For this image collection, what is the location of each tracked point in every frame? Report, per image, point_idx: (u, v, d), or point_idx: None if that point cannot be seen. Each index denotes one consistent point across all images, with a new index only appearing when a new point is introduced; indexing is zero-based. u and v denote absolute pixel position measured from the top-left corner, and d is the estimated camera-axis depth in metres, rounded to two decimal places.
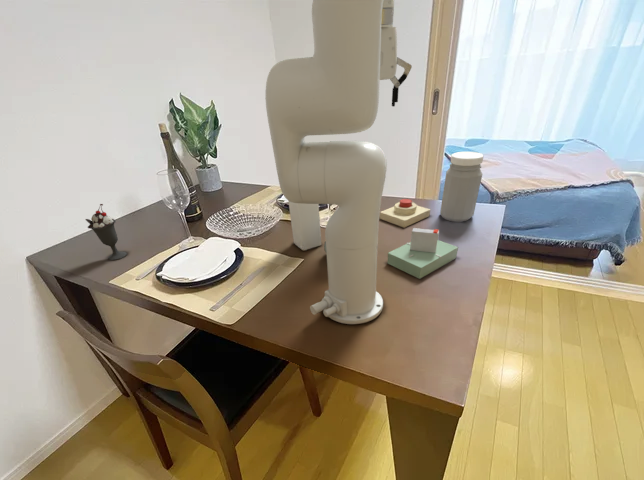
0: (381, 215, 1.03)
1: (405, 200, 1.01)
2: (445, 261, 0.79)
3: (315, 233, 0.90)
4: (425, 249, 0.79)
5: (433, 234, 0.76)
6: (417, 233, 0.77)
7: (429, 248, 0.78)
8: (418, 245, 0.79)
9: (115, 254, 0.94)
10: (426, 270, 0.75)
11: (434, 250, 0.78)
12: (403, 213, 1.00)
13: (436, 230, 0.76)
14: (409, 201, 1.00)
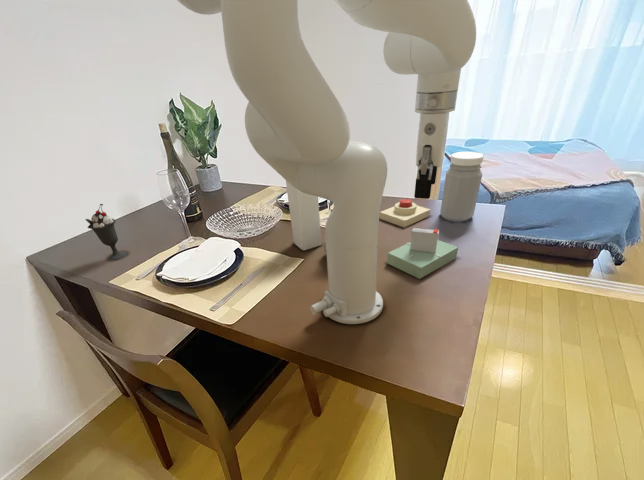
0: (381, 215, 1.03)
1: (405, 200, 1.01)
2: (445, 261, 0.79)
3: (315, 233, 0.90)
4: (425, 249, 0.79)
5: (433, 234, 0.76)
6: (417, 233, 0.77)
7: (429, 248, 0.78)
8: (418, 245, 0.79)
9: (115, 254, 0.94)
10: (426, 270, 0.75)
11: (434, 250, 0.78)
12: (403, 213, 1.00)
13: (436, 230, 0.76)
14: (409, 201, 1.00)
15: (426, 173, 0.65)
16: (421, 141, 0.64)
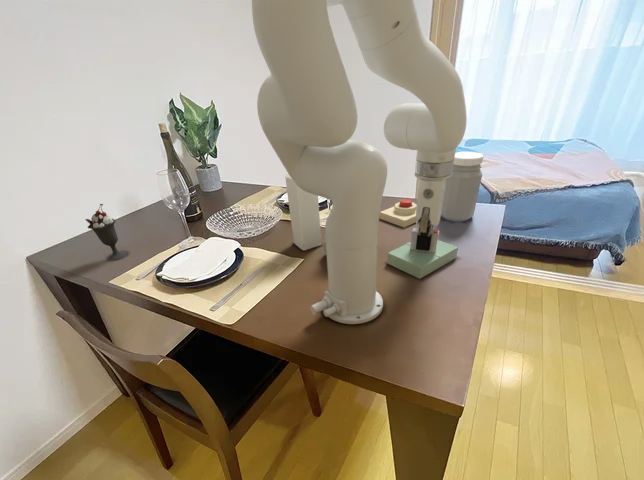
0: (381, 215, 1.03)
1: (405, 200, 1.01)
2: (445, 261, 0.79)
3: (315, 233, 0.90)
4: None
5: (433, 234, 0.76)
6: (417, 233, 0.77)
7: None
8: None
9: (115, 254, 0.94)
10: (426, 270, 0.75)
11: (434, 250, 0.78)
12: (403, 213, 1.00)
13: (436, 230, 0.76)
14: (409, 201, 1.00)
15: (426, 231, 0.73)
16: (420, 204, 0.69)
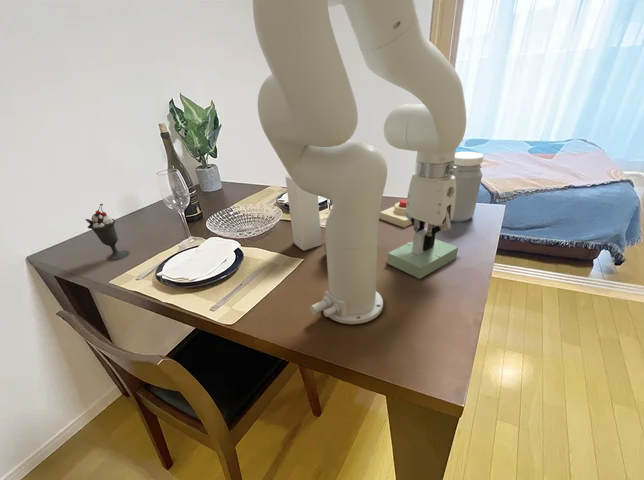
0: (381, 215, 1.03)
1: (405, 200, 1.01)
2: (445, 261, 0.79)
3: (315, 233, 0.90)
4: None
5: None
6: (424, 235, 0.76)
7: None
8: None
9: (115, 254, 0.94)
10: (426, 270, 0.75)
11: None
12: (403, 213, 1.00)
13: None
14: None
15: None
16: (445, 204, 0.69)
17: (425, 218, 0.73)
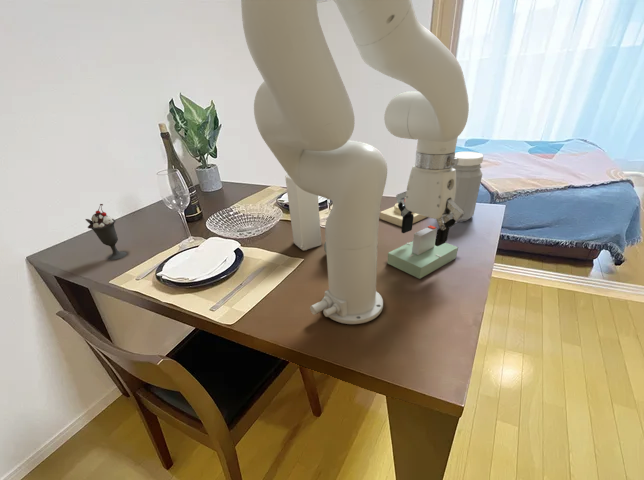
0: (381, 215, 1.03)
1: None
2: (445, 261, 0.79)
3: (315, 233, 0.90)
4: (428, 247, 0.79)
5: (434, 230, 0.78)
6: (424, 235, 0.76)
7: (431, 245, 0.80)
8: (424, 247, 0.78)
9: (115, 254, 0.94)
10: (426, 270, 0.75)
11: (433, 244, 0.80)
12: None
13: (432, 226, 0.78)
14: None
15: (457, 222, 0.69)
16: (445, 196, 0.67)
17: (424, 211, 0.72)
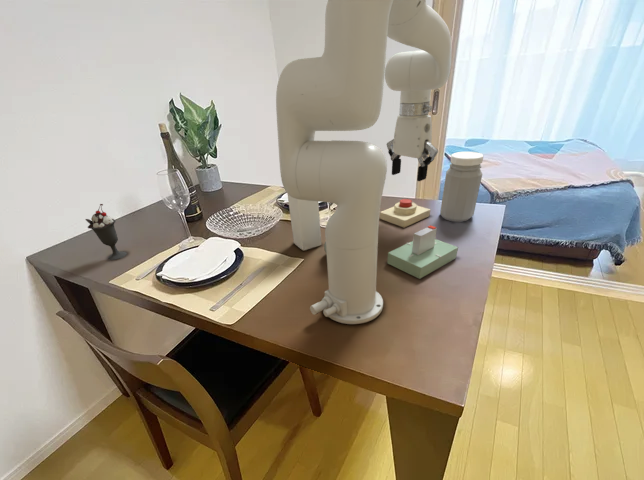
0: (381, 215, 1.03)
1: (405, 200, 1.01)
2: (445, 261, 0.79)
3: (315, 233, 0.90)
4: (428, 247, 0.79)
5: (434, 230, 0.78)
6: (424, 235, 0.76)
7: (431, 245, 0.80)
8: (424, 247, 0.78)
9: (115, 254, 0.94)
10: (426, 270, 0.75)
11: (433, 244, 0.80)
12: (403, 213, 1.00)
13: (432, 226, 0.78)
14: (409, 201, 1.00)
15: (433, 159, 0.89)
16: (423, 138, 0.86)
17: (408, 153, 0.91)
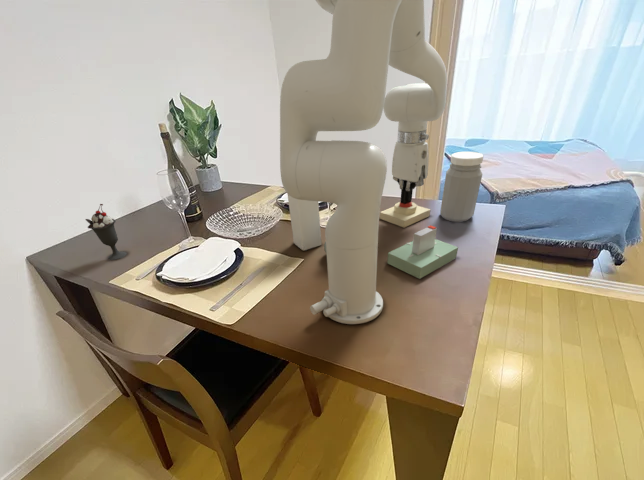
0: (381, 215, 1.03)
1: None
2: (445, 261, 0.79)
3: (315, 233, 0.90)
4: (428, 247, 0.79)
5: (434, 230, 0.78)
6: (424, 235, 0.76)
7: (431, 245, 0.80)
8: (424, 247, 0.78)
9: (115, 254, 0.94)
10: (426, 270, 0.75)
11: (433, 244, 0.80)
12: (403, 213, 1.00)
13: (432, 226, 0.78)
14: (409, 203, 1.01)
15: None
16: (420, 164, 0.90)
17: (406, 177, 0.95)
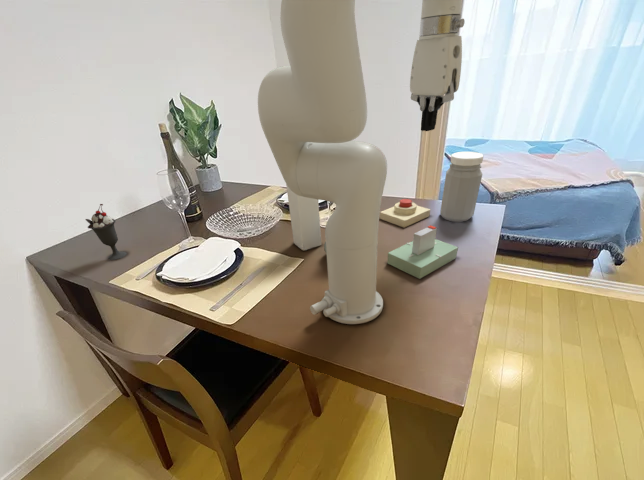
0: (381, 215, 1.03)
1: (405, 200, 1.01)
2: (445, 261, 0.79)
3: (315, 233, 0.90)
4: (428, 247, 0.79)
5: (434, 230, 0.78)
6: (424, 235, 0.76)
7: (431, 245, 0.80)
8: (424, 247, 0.78)
9: (115, 254, 0.94)
10: (426, 270, 0.75)
11: (433, 244, 0.80)
12: (403, 213, 1.00)
13: (432, 226, 0.78)
14: (409, 201, 1.00)
15: None
16: (451, 65, 0.66)
17: (430, 89, 0.71)
